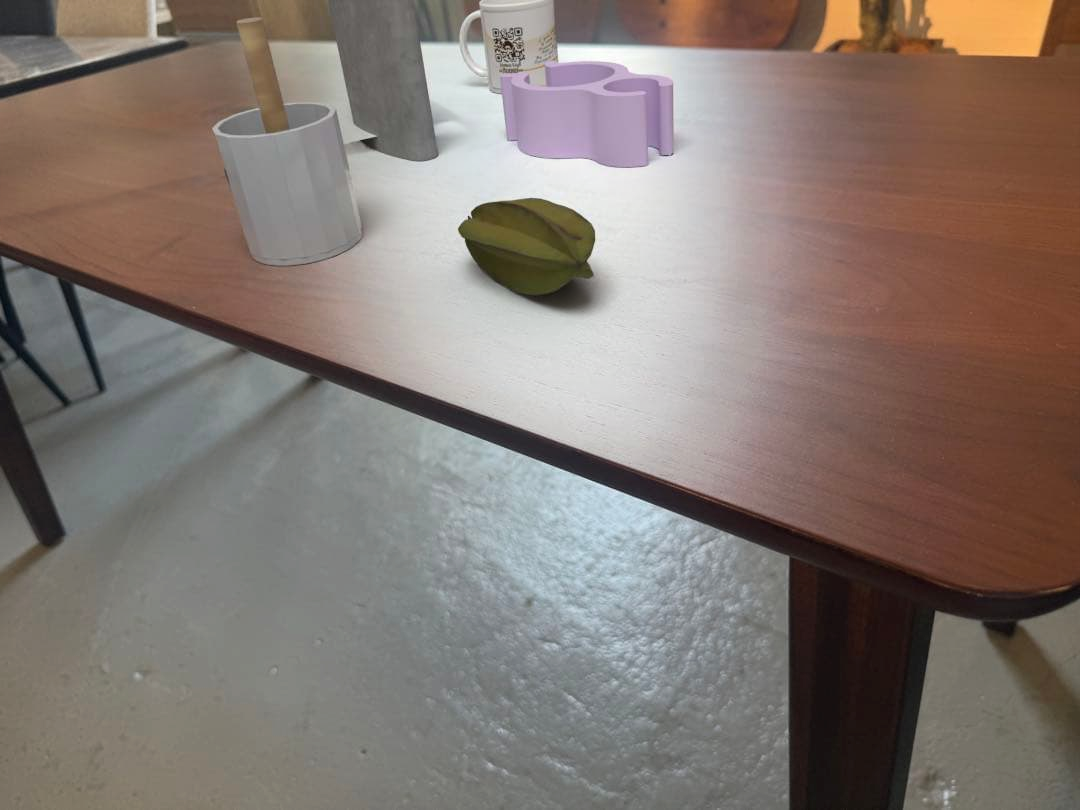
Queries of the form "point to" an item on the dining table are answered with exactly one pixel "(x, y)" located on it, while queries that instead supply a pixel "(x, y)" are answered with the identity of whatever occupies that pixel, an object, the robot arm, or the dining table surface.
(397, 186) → the dining table surface
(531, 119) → the clip
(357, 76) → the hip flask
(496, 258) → the fruit
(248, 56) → the brush
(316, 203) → the canister
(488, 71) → the mug
